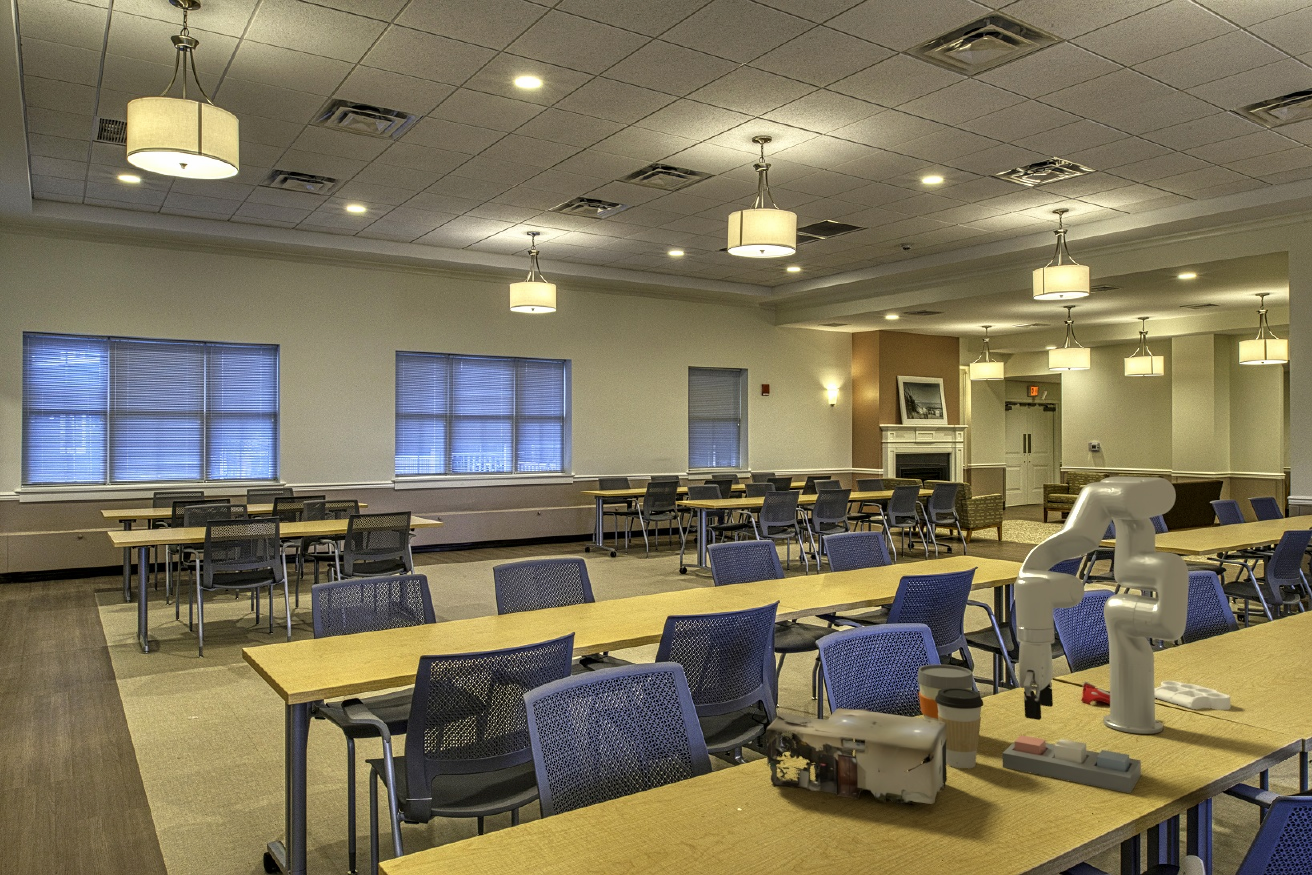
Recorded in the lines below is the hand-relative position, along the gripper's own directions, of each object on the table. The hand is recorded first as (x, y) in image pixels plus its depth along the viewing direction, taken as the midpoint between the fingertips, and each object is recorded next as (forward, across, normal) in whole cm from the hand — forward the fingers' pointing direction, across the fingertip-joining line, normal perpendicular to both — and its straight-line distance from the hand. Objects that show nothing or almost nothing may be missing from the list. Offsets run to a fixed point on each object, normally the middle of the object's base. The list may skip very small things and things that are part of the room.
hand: (1039, 711), depth 193 cm
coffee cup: (+9, +16, -13) cm, 22 cm away
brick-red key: (+8, +6, -1) cm, 11 cm away
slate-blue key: (+9, +6, +15) cm, 19 cm away
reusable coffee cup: (+9, -2, -22) cm, 24 cm away
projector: (+7, +42, -22) cm, 48 cm away
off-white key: (+8, +6, +7) cm, 13 cm away
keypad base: (+9, +6, +7) cm, 14 cm away
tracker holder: (+13, -53, +1) cm, 54 cm away
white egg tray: (+14, -66, +21) cm, 70 cm away
